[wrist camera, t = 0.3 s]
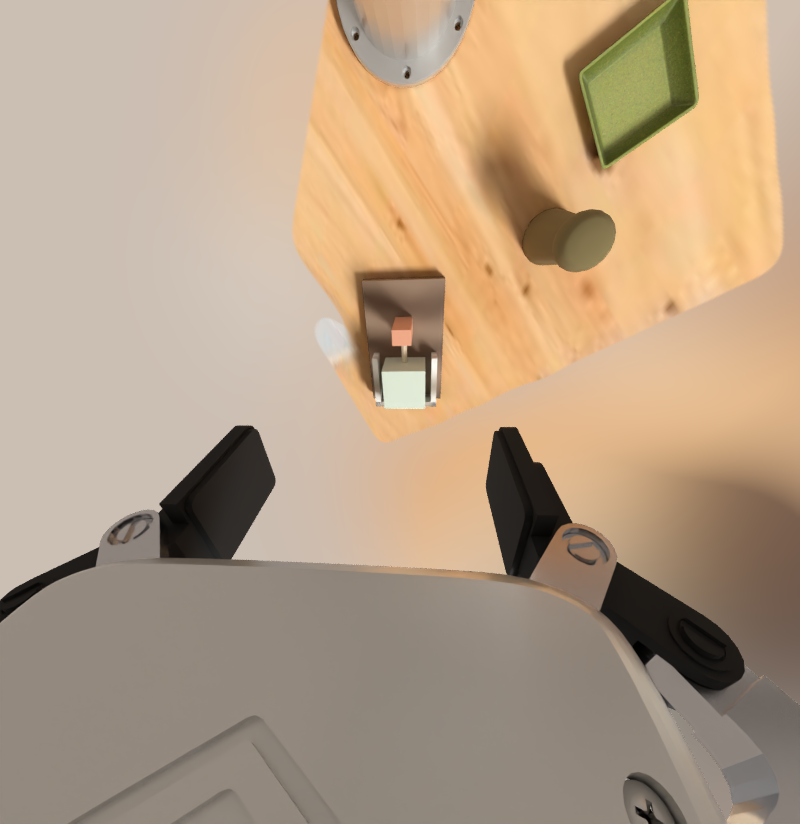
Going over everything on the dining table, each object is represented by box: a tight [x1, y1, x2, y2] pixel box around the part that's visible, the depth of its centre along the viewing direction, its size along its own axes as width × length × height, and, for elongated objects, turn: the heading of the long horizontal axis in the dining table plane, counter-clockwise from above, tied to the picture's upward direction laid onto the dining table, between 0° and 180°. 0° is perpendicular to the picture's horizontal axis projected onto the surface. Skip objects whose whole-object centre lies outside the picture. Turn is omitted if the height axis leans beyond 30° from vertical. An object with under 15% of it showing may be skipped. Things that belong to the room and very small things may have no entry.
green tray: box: [579, 0, 699, 169], centre depth 28 cm, size 9×9×2 cm
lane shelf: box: [362, 277, 445, 407], centre depth 43 cm, size 18×11×4 cm, turn 2°
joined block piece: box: [382, 317, 425, 409], centre depth 41 cm, size 12×6×6 cm, turn 2°
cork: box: [523, 208, 616, 272], centre depth 31 cm, size 6×6×11 cm
